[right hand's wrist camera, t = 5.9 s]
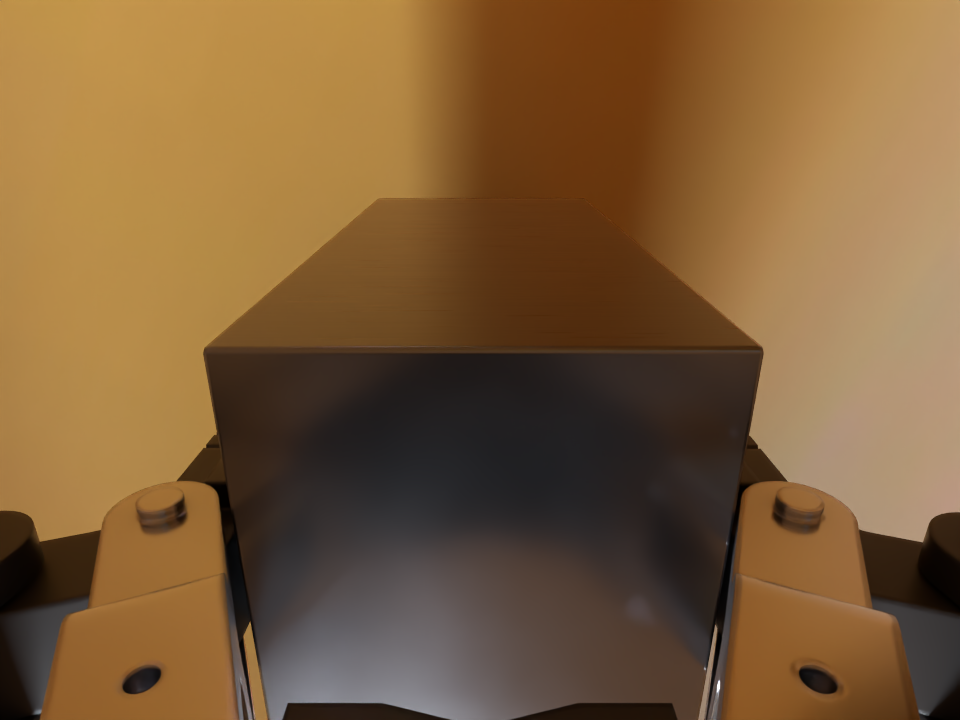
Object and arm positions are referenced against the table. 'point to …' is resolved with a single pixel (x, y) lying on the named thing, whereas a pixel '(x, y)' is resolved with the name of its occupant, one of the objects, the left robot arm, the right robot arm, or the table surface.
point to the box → (483, 464)
